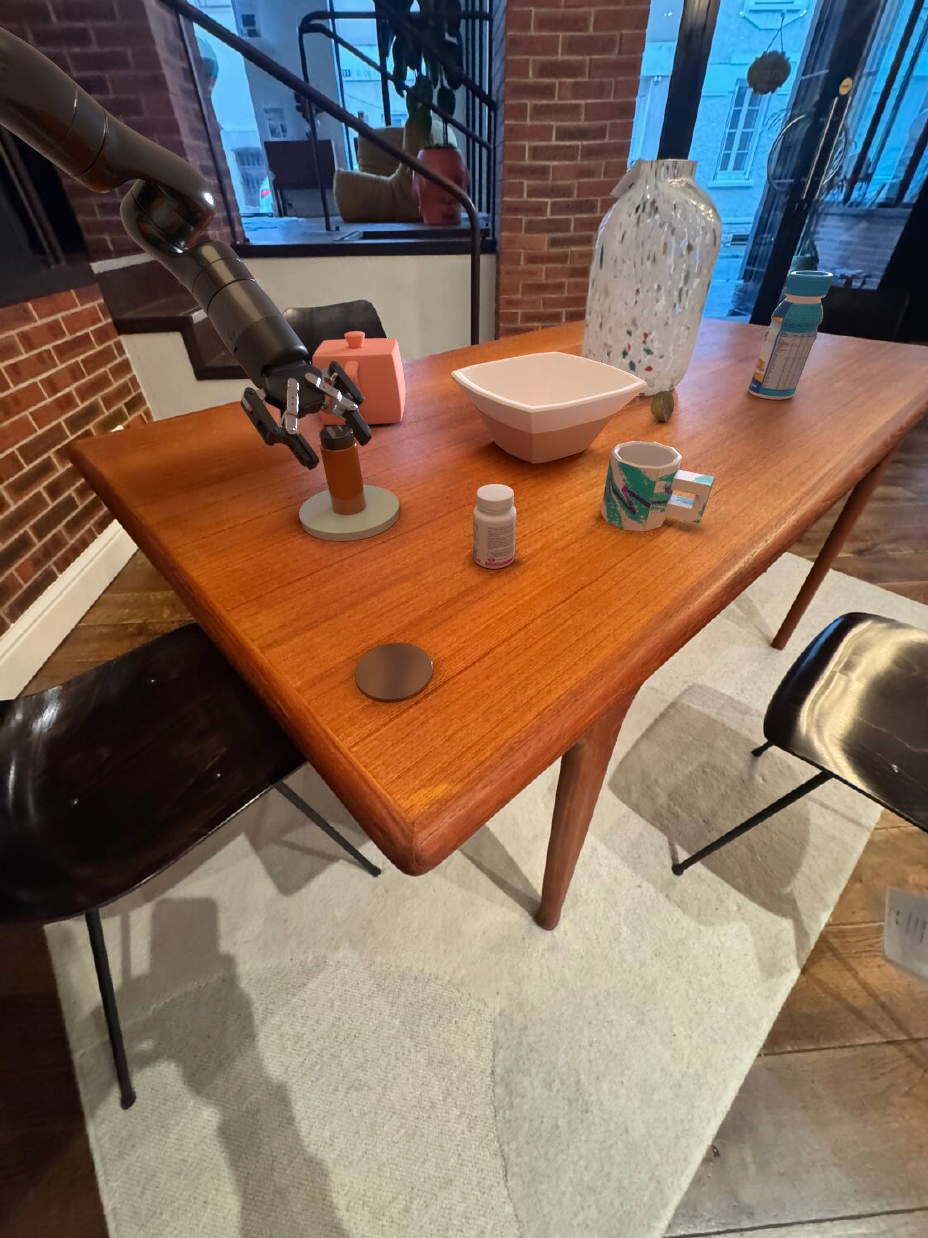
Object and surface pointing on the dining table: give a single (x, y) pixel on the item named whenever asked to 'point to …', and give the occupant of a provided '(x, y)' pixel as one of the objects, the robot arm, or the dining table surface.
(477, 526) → the pill bottle
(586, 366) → the bowl
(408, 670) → the coaster
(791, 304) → the beverage bottle
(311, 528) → the plate
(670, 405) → the lime
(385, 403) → the teapot
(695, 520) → the mug
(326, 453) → the spice bottle
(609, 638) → the dining table surface
